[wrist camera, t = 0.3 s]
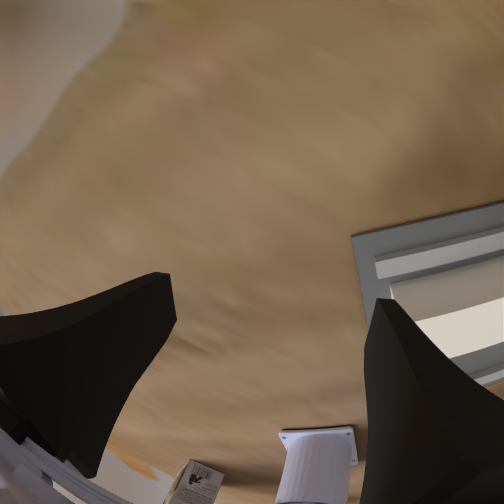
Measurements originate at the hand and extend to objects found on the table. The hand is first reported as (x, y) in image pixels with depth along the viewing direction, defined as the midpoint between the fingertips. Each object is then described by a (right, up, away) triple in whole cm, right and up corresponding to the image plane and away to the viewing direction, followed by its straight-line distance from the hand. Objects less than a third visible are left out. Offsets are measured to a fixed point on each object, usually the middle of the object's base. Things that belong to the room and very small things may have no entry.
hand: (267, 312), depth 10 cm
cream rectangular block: (+15, -1, +7) cm, 16 cm away
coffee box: (-9, -35, +29) cm, 47 cm away
